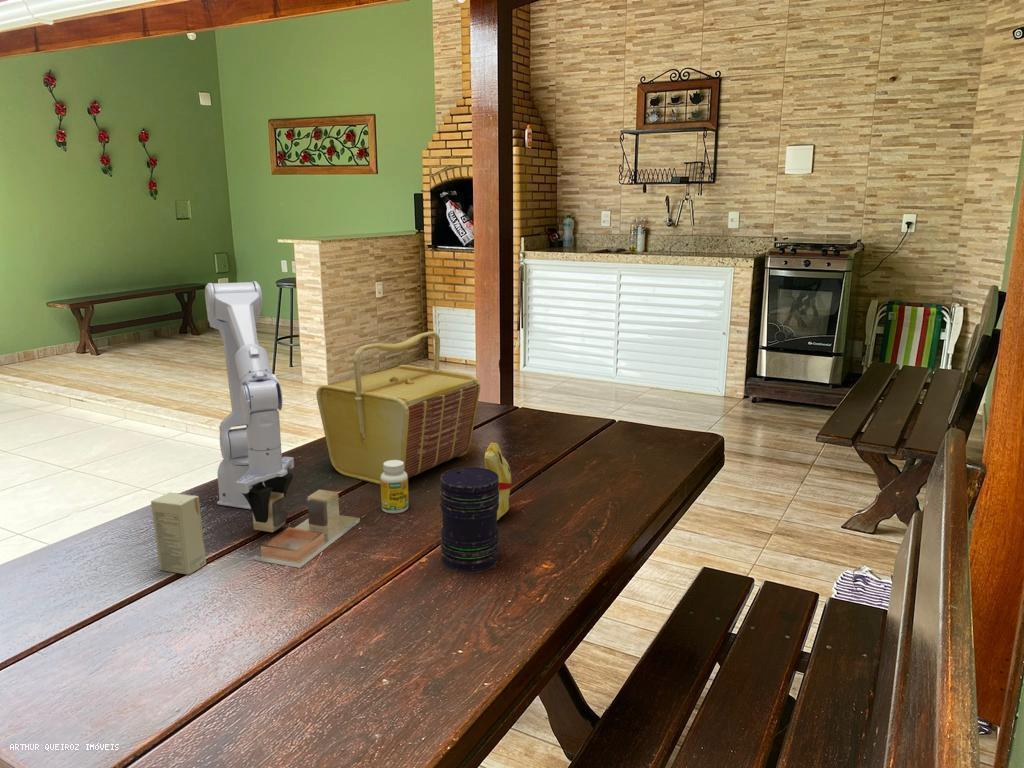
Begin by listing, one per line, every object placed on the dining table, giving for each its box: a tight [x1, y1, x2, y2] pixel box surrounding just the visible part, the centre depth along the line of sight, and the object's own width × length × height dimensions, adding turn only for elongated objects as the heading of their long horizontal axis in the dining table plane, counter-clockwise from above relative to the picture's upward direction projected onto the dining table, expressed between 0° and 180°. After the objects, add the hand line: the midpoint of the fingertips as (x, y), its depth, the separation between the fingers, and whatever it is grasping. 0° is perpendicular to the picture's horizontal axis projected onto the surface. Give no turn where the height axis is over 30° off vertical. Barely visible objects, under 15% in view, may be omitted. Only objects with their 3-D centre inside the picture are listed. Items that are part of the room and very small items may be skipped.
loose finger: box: [252, 492, 288, 533], centre depth 139 cm, size 4×5×6 cm
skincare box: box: [150, 491, 207, 575], centre depth 124 cm, size 6×4×12 cm
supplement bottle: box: [380, 460, 410, 514], centre depth 149 cm, size 5×5×10 cm
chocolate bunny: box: [483, 442, 513, 521], centre depth 146 cm, size 7×11×15 cm, turn 155°
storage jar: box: [439, 466, 500, 574], centre depth 127 cm, size 10×10×15 cm
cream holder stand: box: [253, 489, 360, 569], centre depth 135 cm, size 9×20×7 cm, turn 162°
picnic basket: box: [315, 331, 481, 486], centre depth 172 cm, size 29×26×30 cm
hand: (269, 516), depth 139 cm, fingers closed on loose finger, 4 cm apart
